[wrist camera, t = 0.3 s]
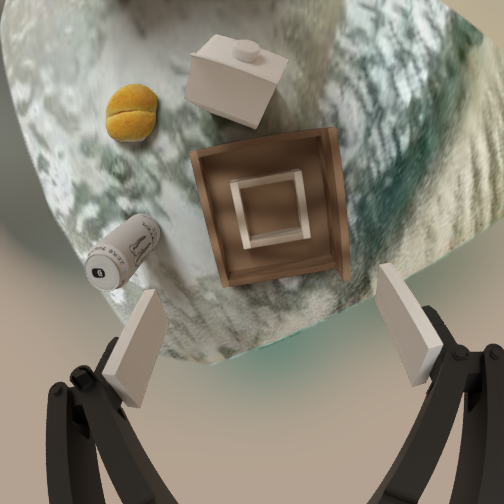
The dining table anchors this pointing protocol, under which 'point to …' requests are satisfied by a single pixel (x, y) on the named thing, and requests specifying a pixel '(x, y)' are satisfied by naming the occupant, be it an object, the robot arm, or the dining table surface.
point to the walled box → (275, 206)
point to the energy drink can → (121, 252)
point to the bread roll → (131, 113)
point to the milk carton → (234, 79)
